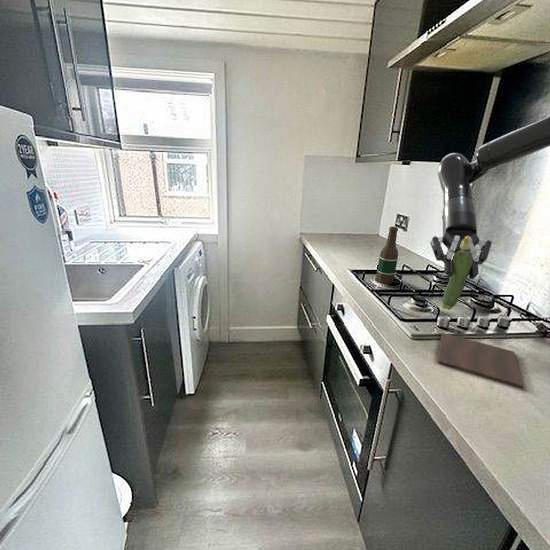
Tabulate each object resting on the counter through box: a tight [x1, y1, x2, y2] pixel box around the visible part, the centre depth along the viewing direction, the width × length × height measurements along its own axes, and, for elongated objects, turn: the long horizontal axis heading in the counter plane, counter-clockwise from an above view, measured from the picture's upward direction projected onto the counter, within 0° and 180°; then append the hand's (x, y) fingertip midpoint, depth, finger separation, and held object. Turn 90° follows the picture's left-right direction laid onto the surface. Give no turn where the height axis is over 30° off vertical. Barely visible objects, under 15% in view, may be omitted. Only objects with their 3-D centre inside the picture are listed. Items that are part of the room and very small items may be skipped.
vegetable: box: [442, 236, 473, 311], centre depth 75 cm, size 4×4×20 cm
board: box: [437, 332, 524, 389], centre depth 82 cm, size 18×16×1 cm
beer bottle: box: [375, 226, 399, 285], centre depth 128 cm, size 8×8×24 cm
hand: (461, 276), depth 74 cm, fingers closed on vegetable, 4 cm apart
